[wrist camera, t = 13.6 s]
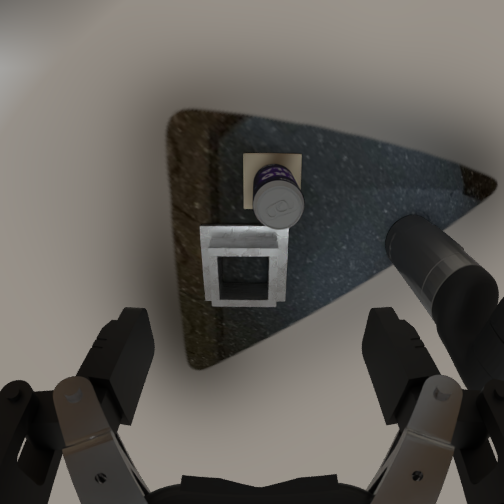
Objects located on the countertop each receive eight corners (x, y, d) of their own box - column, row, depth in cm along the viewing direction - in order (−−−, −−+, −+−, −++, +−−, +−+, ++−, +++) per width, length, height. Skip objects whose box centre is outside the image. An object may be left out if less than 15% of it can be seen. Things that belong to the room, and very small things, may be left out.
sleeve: (288, 224, 48) (291, 237, 43) (284, 297, 53) (286, 315, 49) (200, 223, 48) (194, 236, 43) (206, 297, 53) (202, 314, 49)
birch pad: (301, 153, 43) (301, 154, 42) (299, 208, 46) (299, 209, 46) (243, 153, 43) (243, 153, 43) (244, 207, 47) (243, 208, 46)
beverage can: (301, 189, 45) (315, 217, 34) (266, 208, 46) (269, 242, 35) (280, 155, 43) (289, 172, 32) (245, 175, 44) (241, 199, 33)
